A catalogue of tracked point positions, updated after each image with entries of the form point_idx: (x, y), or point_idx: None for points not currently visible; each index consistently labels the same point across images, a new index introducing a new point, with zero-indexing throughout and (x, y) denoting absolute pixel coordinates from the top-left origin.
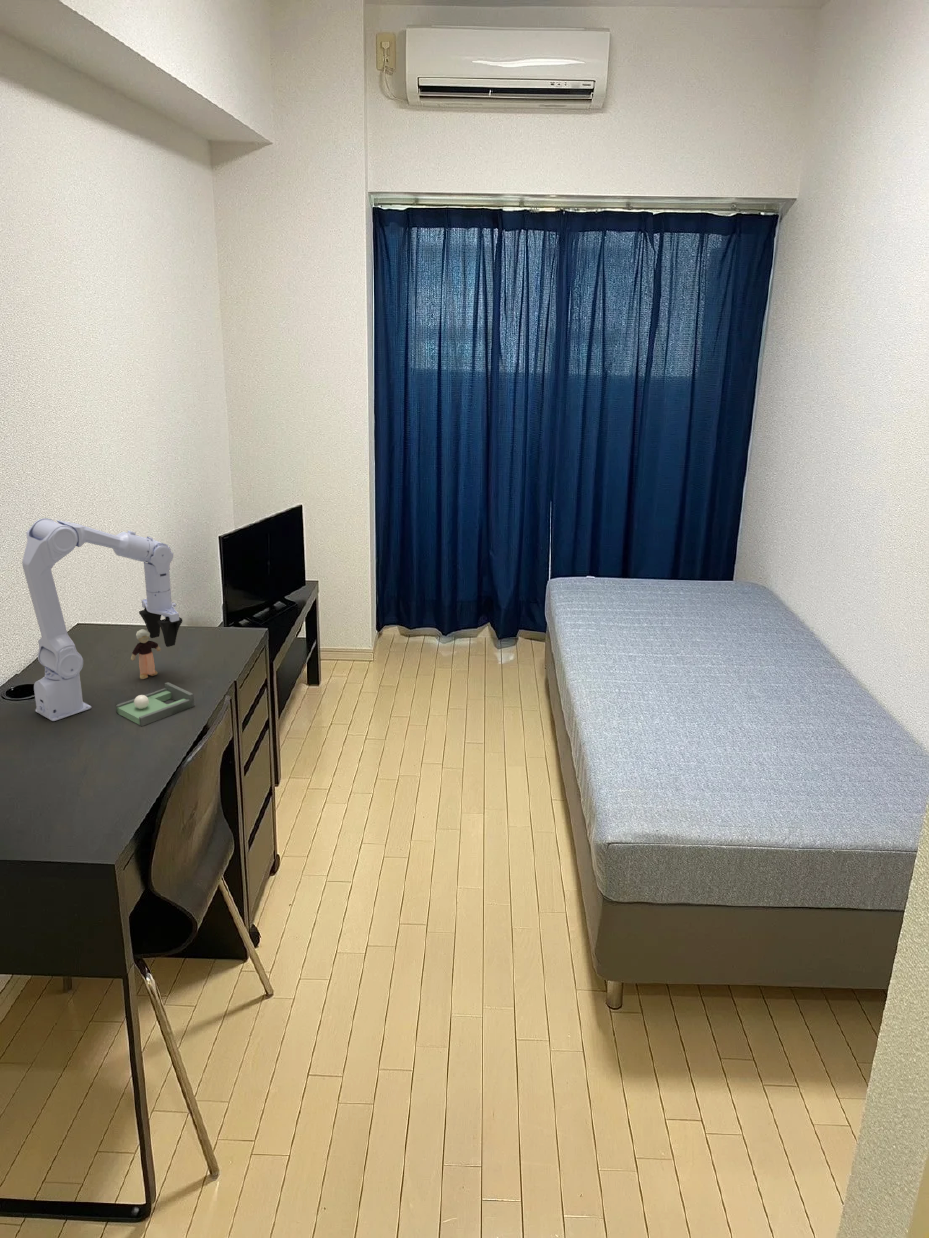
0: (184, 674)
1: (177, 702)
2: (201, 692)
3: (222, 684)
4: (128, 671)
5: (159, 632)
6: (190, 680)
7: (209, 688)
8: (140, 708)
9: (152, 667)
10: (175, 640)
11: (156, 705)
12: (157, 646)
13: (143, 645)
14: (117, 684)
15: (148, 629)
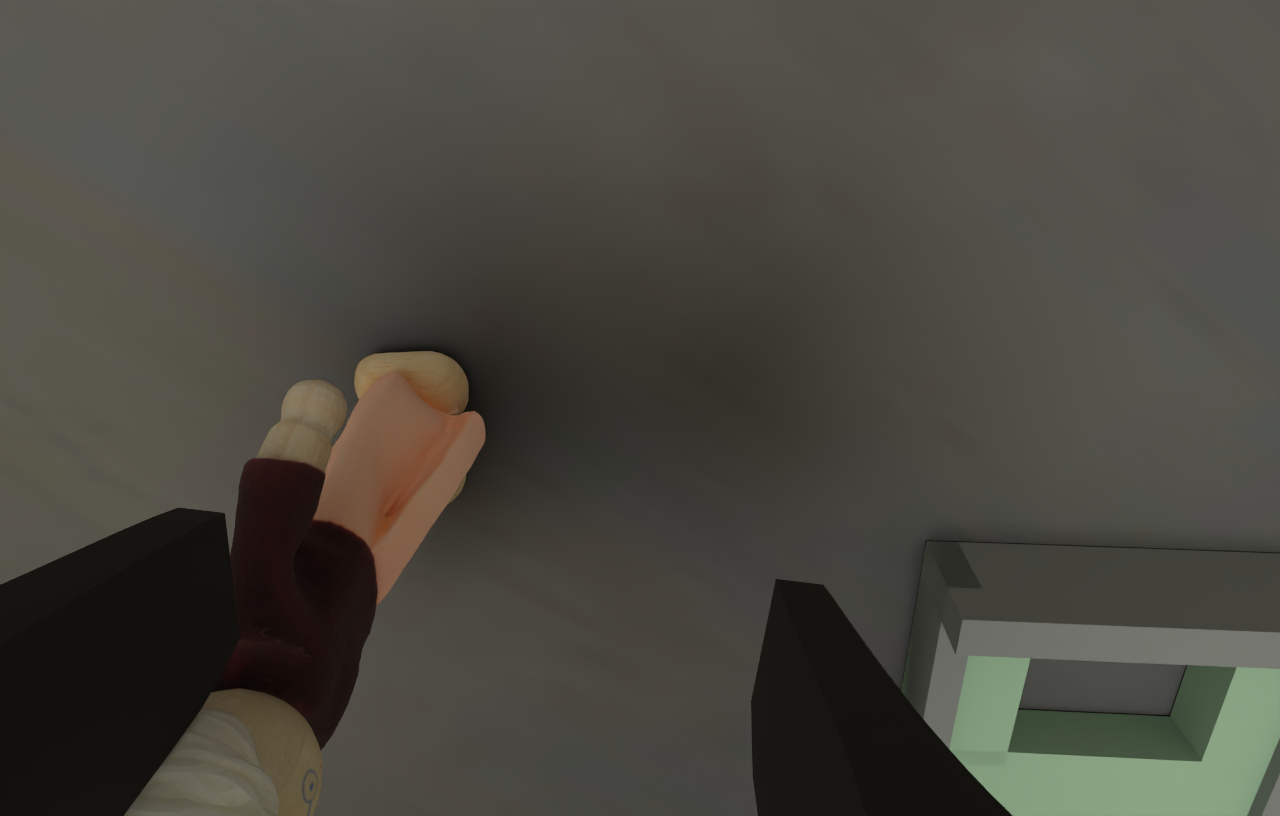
0: (644, 151)
1: (1258, 699)
2: (1173, 327)
3: (1251, 19)
4: (200, 473)
5: (173, 545)
6: (834, 211)
7: (1182, 206)
8: None
9: (463, 470)
10: (858, 637)
11: (1128, 811)
12: (320, 474)
13: (320, 725)
14: (414, 667)
15: (107, 809)
